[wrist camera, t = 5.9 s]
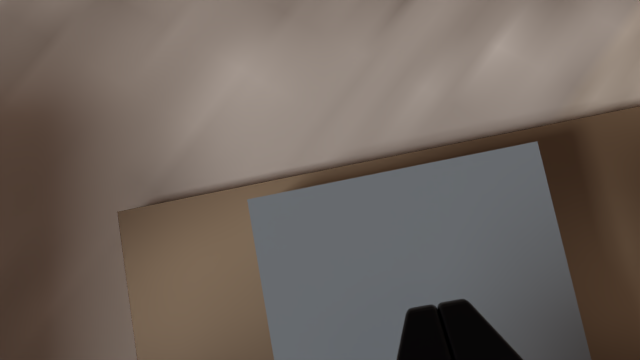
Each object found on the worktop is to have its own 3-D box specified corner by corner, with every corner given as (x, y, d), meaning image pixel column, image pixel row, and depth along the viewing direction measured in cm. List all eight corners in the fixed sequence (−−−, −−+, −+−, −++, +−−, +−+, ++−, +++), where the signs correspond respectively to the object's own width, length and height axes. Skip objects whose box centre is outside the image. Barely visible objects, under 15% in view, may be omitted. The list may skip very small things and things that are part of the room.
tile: (626, 501, 13) (537, 141, 14) (306, 550, 13) (247, 199, 15) (599, 475, 14) (521, 153, 16) (314, 519, 15) (261, 205, 16)
